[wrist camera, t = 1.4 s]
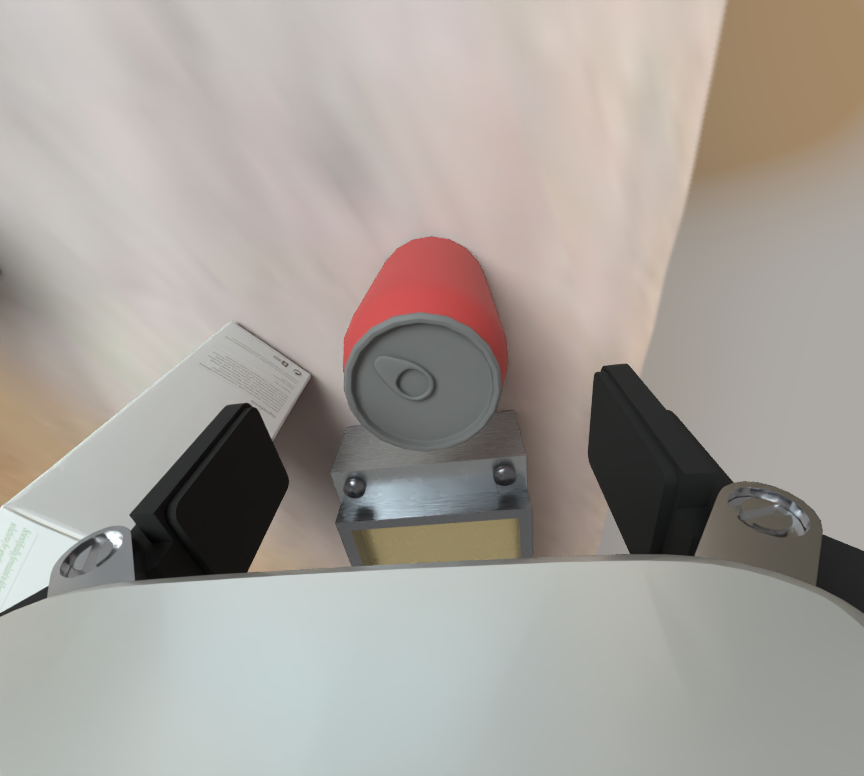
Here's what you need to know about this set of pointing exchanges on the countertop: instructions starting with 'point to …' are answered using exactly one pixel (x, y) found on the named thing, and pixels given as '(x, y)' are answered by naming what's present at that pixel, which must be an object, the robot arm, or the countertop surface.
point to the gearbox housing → (434, 498)
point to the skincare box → (138, 453)
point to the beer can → (426, 349)
